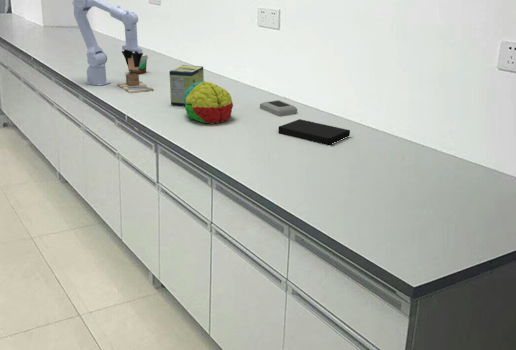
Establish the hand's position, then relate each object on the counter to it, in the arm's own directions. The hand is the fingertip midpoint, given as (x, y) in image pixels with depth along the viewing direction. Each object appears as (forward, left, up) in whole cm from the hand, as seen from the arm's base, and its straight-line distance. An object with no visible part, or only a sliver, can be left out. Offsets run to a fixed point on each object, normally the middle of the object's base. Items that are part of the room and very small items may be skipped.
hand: (133, 65), depth 299 cm
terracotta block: (0, 0, -1) cm, 1 cm away
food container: (-20, +24, -11) cm, 33 cm away
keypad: (+84, +2, -11) cm, 85 cm away
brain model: (+66, -24, -11) cm, 71 cm away
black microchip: (+114, -20, -11) cm, 116 cm away
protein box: (+43, -9, -11) cm, 45 cm away
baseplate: (+3, -2, -10) cm, 11 cm away
